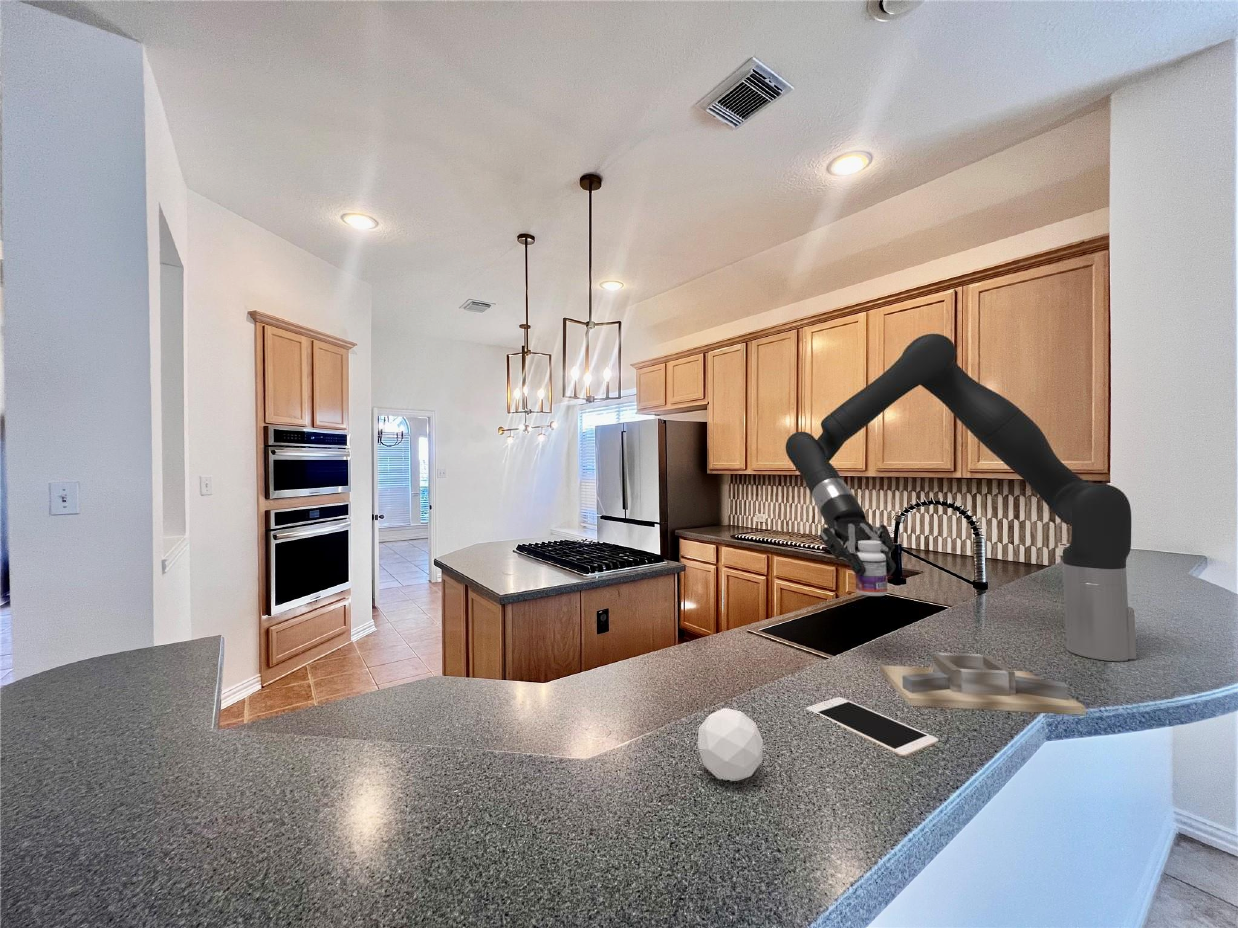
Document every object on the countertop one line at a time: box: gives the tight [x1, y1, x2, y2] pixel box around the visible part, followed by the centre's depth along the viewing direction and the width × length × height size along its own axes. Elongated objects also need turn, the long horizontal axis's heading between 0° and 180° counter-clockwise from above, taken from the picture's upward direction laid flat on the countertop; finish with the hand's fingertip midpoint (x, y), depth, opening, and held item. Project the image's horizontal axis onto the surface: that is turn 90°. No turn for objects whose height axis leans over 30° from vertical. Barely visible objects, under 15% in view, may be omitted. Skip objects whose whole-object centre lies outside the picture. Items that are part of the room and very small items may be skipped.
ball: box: [697, 707, 764, 782], centre depth 63 cm, size 8×8×8 cm
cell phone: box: [805, 696, 939, 757], centre depth 76 cm, size 8×16×1 cm, turn 28°
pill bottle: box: [854, 540, 888, 597], centre depth 99 cm, size 5×5×10 cm
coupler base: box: [879, 652, 1087, 716], centre depth 86 cm, size 24×14×5 cm, turn 80°
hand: (877, 572), depth 97 cm, fingers closed on pill bottle, 5 cm apart
